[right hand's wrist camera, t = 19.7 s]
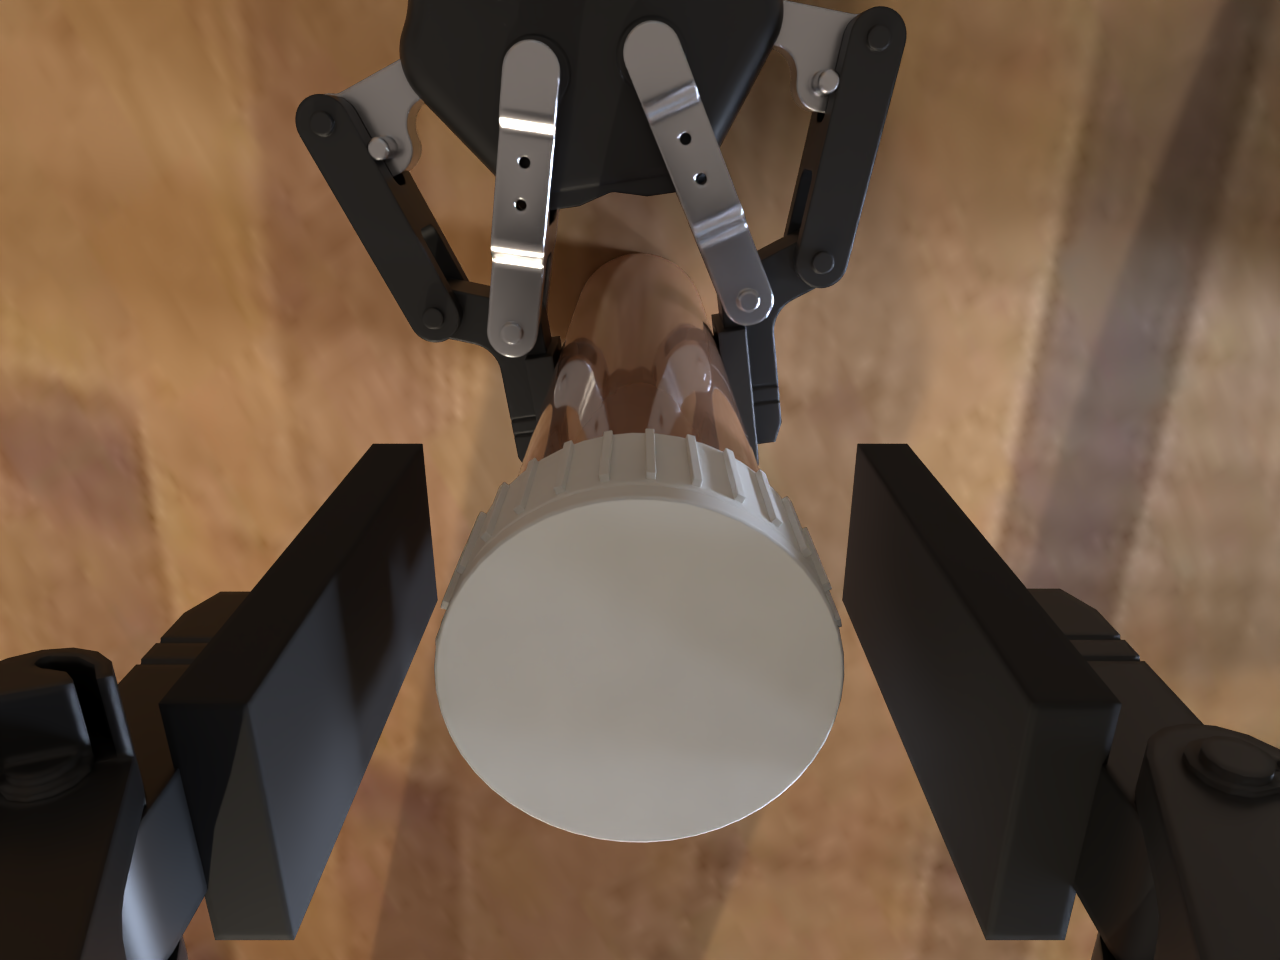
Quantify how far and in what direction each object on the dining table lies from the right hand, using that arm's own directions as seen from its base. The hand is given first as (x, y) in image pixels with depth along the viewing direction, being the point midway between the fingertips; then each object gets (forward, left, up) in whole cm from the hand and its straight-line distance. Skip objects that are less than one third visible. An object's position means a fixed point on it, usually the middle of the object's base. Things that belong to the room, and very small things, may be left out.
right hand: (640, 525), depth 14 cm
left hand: (-1, +2, -10) cm, 10 cm away
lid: (0, 0, +4) cm, 4 cm away
